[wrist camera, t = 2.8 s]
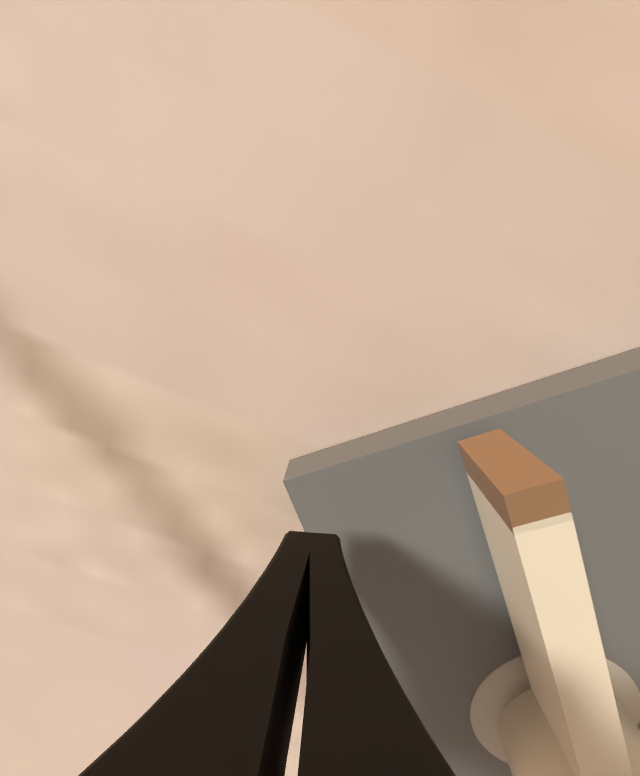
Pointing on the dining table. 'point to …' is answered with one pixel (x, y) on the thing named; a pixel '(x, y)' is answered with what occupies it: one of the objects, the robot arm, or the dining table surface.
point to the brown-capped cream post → (547, 620)
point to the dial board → (482, 544)
